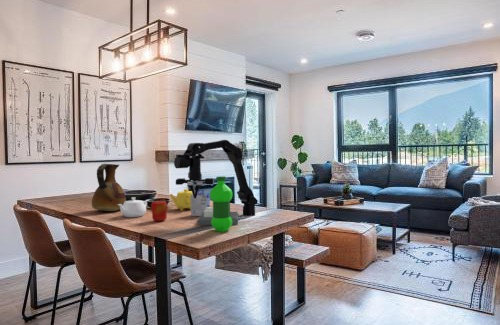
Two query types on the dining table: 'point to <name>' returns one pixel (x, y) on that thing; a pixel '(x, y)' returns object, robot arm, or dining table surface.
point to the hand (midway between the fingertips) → (195, 198)
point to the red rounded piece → (159, 210)
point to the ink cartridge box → (199, 203)
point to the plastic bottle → (221, 205)
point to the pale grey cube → (208, 213)
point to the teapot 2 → (183, 199)
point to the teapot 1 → (133, 208)
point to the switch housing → (207, 220)
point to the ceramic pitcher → (108, 190)
